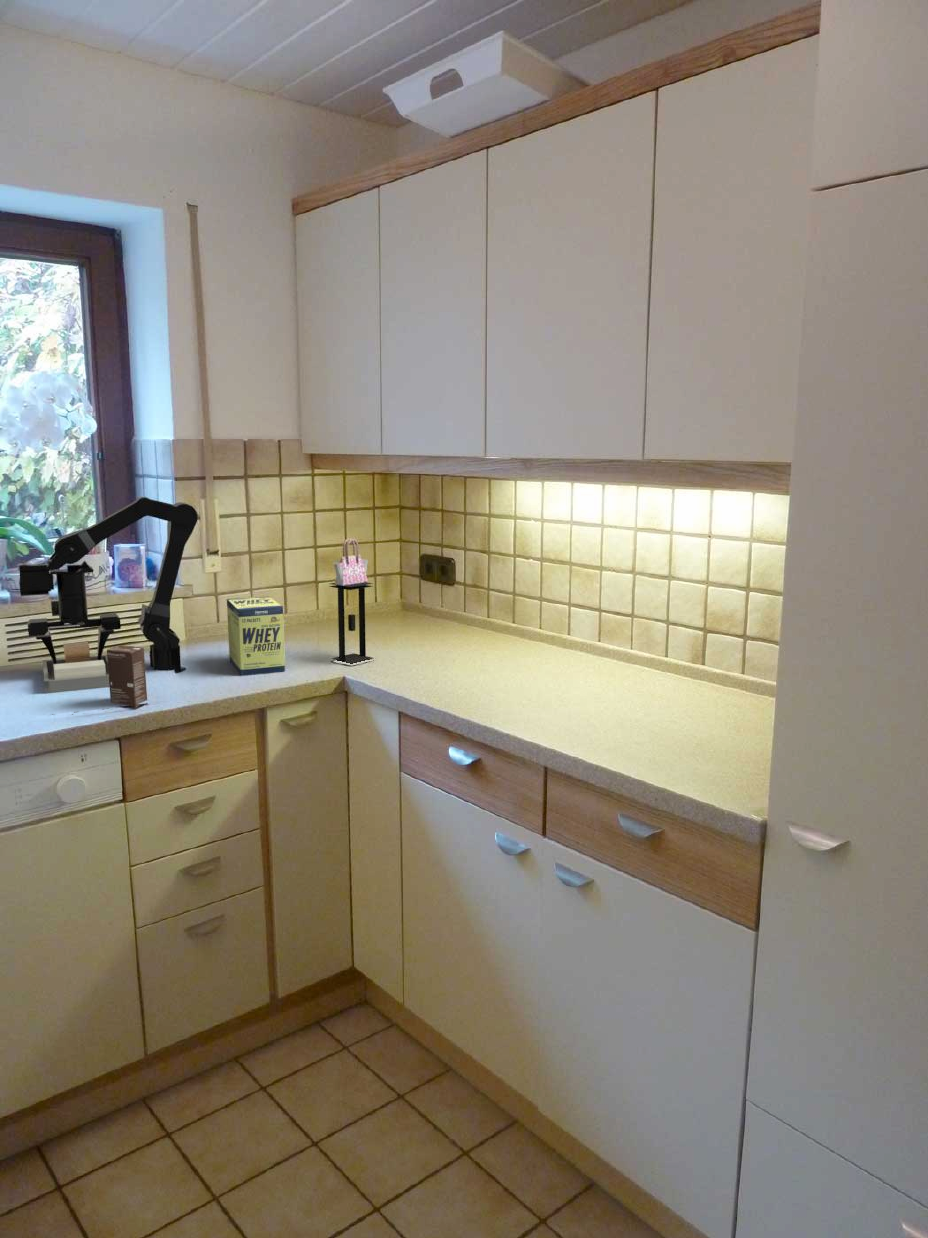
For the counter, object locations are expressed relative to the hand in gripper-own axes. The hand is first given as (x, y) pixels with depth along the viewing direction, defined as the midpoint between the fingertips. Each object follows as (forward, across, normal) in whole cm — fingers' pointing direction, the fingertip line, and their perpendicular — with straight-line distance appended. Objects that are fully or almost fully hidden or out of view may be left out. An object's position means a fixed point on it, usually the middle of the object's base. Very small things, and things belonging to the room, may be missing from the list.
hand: (77, 662), depth 206 cm
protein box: (+4, -39, +4) cm, 39 cm away
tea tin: (+3, 0, 0) cm, 3 cm away
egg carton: (+3, 0, +9) cm, 9 cm away
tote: (+4, 0, +3) cm, 5 cm away
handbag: (+4, -61, +8) cm, 62 cm away
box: (+4, -8, +26) cm, 28 cm away
